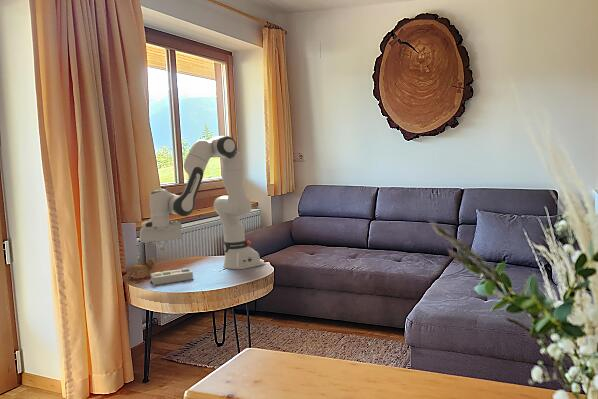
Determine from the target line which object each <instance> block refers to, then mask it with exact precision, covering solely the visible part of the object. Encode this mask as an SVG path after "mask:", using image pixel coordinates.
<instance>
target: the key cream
mask: <svg viewBox="0 0 598 399" xmlns="http://www.w3.org/2000/svg"><path fill="white" fill-rule="evenodd" d="M161 272H162V271H157V272H153V273H154V276H160V275H161Z"/></svg>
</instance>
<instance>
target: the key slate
mask: <svg viewBox="0 0 598 399" xmlns="http://www.w3.org/2000/svg"><path fill="white" fill-rule="evenodd" d="M188 268H189V267H184V268H183V267H182V268H180V269H181V271H182V272H186V271H189V269H190V268H189V269H188Z"/></svg>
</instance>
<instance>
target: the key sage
mask: <svg viewBox="0 0 598 399" xmlns="http://www.w3.org/2000/svg"><path fill="white" fill-rule="evenodd" d="M170 271H171V270H163V271H162V272H163V275H166V274H171V272H170Z"/></svg>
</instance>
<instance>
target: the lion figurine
mask: <svg viewBox="0 0 598 399" xmlns="http://www.w3.org/2000/svg"><path fill="white" fill-rule="evenodd" d="M155 267H156V261H155V259H154V258H149V259H148V260H147V261H145V262H144V263H143V264H141V265H140V264H134V265H133V266H131V268H130V272H129V276H128V277H127V279H130V278H131V277H133V278H134V277H135V278H136V279H139V276H137V273H138V272H140V273H144V272H145V275H146V276H147V277H149V278H151V271H153V269H154V268H155ZM133 274H134V275H133Z"/></svg>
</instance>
